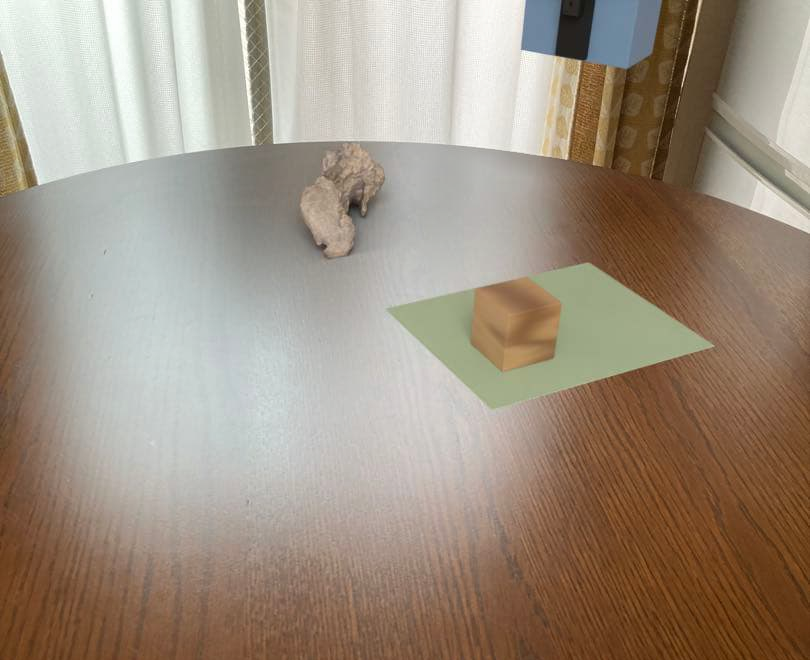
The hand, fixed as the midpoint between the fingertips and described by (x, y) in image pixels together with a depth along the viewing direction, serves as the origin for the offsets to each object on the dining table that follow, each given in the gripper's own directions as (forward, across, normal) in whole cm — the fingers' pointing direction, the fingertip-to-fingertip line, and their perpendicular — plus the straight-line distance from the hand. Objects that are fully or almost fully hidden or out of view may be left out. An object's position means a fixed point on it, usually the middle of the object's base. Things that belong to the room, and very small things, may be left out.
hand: (586, 48), depth 81 cm
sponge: (0, 0, 0) cm, 0 cm away
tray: (+15, +24, +9) cm, 30 cm away
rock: (+15, +15, -16) cm, 27 cm away
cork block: (+14, +29, +9) cm, 33 cm away
